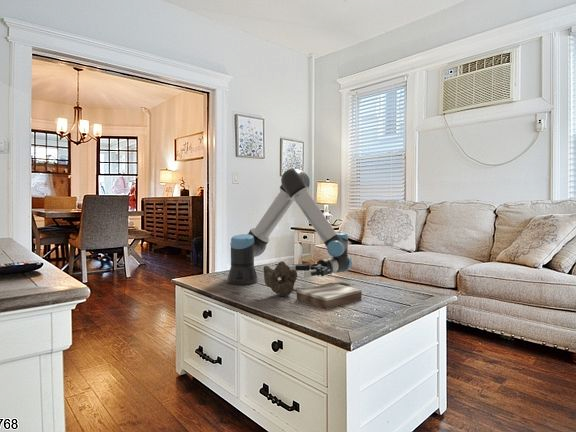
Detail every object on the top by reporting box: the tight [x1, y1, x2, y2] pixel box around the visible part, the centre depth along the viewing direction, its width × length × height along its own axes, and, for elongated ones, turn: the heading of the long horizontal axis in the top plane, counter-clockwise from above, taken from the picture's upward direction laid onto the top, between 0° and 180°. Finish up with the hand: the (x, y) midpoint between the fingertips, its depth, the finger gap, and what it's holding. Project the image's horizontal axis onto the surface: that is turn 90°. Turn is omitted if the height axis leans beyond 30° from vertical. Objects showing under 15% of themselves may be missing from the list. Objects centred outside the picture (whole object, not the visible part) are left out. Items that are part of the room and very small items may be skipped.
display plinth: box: [296, 282, 362, 309], centre depth 152 cm, size 17×21×4 cm
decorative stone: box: [262, 260, 298, 298], centre depth 159 cm, size 16×11×15 cm
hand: (294, 272), depth 164 cm, fingers open, 13 cm apart
